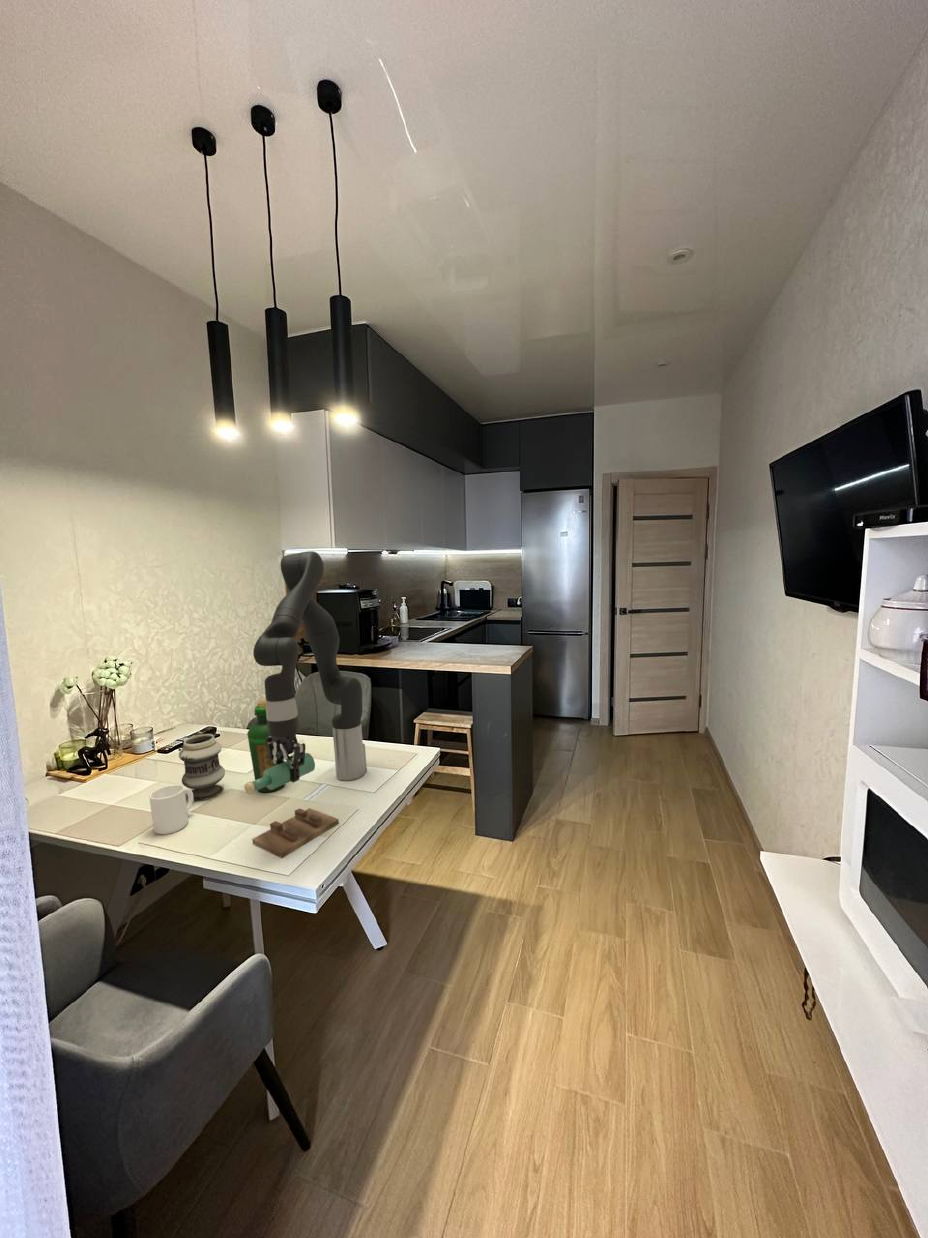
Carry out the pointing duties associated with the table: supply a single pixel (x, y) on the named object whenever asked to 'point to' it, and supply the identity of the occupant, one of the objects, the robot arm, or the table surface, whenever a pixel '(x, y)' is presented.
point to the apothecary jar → (202, 766)
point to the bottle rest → (294, 831)
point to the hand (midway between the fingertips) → (288, 778)
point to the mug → (170, 808)
